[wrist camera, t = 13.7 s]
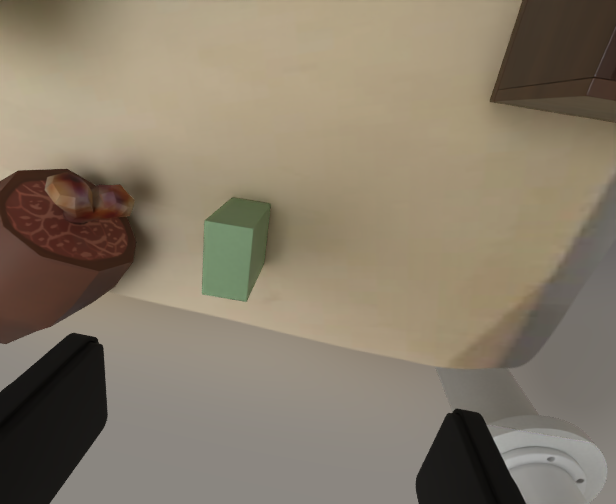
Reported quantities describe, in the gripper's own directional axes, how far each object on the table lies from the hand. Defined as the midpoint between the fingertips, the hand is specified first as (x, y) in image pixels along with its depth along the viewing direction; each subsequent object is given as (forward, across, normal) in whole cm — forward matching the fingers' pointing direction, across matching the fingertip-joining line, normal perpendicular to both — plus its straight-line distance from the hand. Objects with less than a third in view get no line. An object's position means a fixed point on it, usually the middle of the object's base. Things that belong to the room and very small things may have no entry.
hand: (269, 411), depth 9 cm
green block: (+22, +5, +4) cm, 23 cm away
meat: (+22, +19, +10) cm, 30 cm away
